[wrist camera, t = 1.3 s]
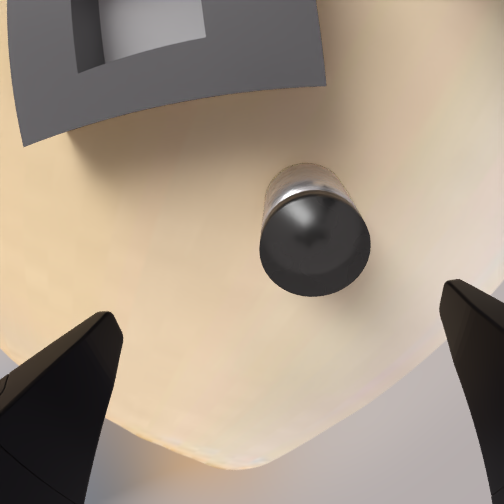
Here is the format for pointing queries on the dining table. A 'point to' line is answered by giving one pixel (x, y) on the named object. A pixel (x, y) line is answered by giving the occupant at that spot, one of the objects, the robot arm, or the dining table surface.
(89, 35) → the grey plate with pocket
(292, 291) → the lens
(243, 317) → the dining table surface
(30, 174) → the dining table surface
